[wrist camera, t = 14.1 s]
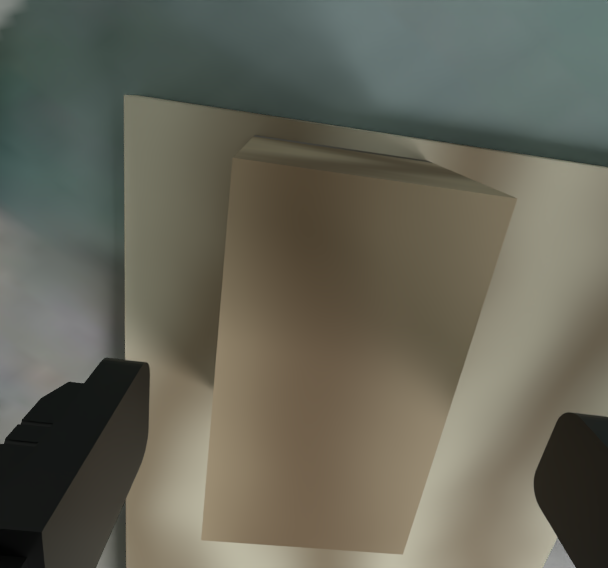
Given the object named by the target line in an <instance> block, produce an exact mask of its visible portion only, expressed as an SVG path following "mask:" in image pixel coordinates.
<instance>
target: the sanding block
mask: <svg viewBox="0 0 608 568" xmlns="http://www.w3.org/2000/svg"><path fill="white" fill-rule="evenodd" d="M516 202H517V198H515V197H512V196H510V195H508V194H505V193H503V192H501V191H498V190H496V189H494V188H491V187H489V186H486V185H484V184H482V183H479V182H477V181H475V180H472V179H470V178H467V177H465V176H463V175H460V174H458V173H456V172H453V171H451V170H449V169H446V168H444V167H441V166H439V165H437V164H434V163H432V162H430V161H427V160H420V159H414V158H407V157H400V156H393V155H387V154H380V153H373V152H366V151H360V150H353V149H346V148H339V147H333V146H326V145H319V144H312V143H306V142H299V141H292V140H285V139H279V138H272V137H265V136H258V135H254V136H253V137H252V138H251V139H250V141H249V142H248V143H247V144H246V145H245V146H244V147H243V148H242V149H241V150H240V151H239V152H238V153H237V154H236V155H235V156H234V157H233V158H232V170H231V183H230V195H229V207H228V219H227V231H226V243H225V256H224V268H223V280H222V292H221V304H220V316H219V328H218V341H217V353H216V365H215V377H214V389H213V401H212V414H211V426H210V438H209V450H208V462H207V474H206V486H205V499H204V511H203V523H202V535H201V540H203V541H217V542H232V543H246V544H260V545H274V546H288V547H302V548H316V549H330V550H344V551H358V552H373V553H387V554H401V555H403V553H404V549H405V546H406V543H407V540H408V537H409V534H410V531H411V528H412V525H413V522H414V518H415V515H416V512H417V509H418V506H419V503H420V500H421V497H422V494H423V490H424V487H425V484H426V481H427V478H428V475H429V472H430V469H431V466H432V463H433V459H434V456H435V453H436V450H437V447H438V444H439V441H440V438H441V435H442V431H443V428H444V425H445V422H446V419H447V416H448V413H449V410H450V407H451V403H452V400H453V397H454V394H455V391H456V388H457V385H458V382H459V379H460V376H461V372H462V369H463V366H464V363H465V360H466V357H467V354H468V351H469V348H470V344H471V341H472V338H473V335H474V332H475V329H476V326H477V323H478V320H479V316H480V313H481V310H482V307H483V304H484V301H485V298H486V295H487V292H488V289H489V285H490V282H491V279H492V276H493V273H494V270H495V267H496V264H497V261H498V257H499V254H500V251H501V248H502V245H503V242H504V239H505V236H506V233H507V230H508V226H509V223H510V220H511V217H512V214H513V211H514V208H515V205H516Z"/></svg>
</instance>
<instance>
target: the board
mask: <svg viewBox="0 0 608 568" xmlns="http://www.w3.org/2000/svg"><path fill="white" fill-rule="evenodd" d="M254 135H258V136H265V137H272V138H279V139H285V140H292V141H299V142H306V143H312V144H319V145H326V146H333V147H339V148H346V149H353V150H360V151H366V152H373V153H380V154H387V155H393V156H400V157H407V158H414V159H420V160H427V161H430V162H432V163H434V164H437V165H439V166H441V167H444V168H446V169H449V170H451V171H453V172H456V173H458V174H460V175H463V176H465V177H467V178H470V179H472V180H475V181H477V182H479V183H482V184H484V185H486V186H489V187H491V188H494V189H496V190H498V191H501V192H503V193H505V194H508V195H510V196H512V197H515V198H517V202H516V205H515V208H514V211H513V214H512V217H511V220H510V223H509V226H508V230H507V233H506V236H505V239H504V242H503V245H502V248H501V251H500V254H499V257H498V261H497V264H496V267H495V270H494V273H493V276H492V279H491V282H490V285H489V289H488V292H487V295H486V298H485V301H484V304H483V307H482V310H481V313H480V316H479V320H478V323H477V326H476V329H475V332H474V335H473V338H472V341H471V344H470V348H469V351H468V354H467V357H466V360H465V363H464V366H463V369H462V372H461V376H460V379H459V382H458V385H457V388H456V391H455V394H454V397H453V400H452V403H451V407H450V410H449V413H448V416H447V419H446V422H445V425H444V428H443V431H442V435H441V438H440V441H439V444H438V447H437V450H436V453H435V456H434V459H433V463H432V466H431V469H430V472H429V475H428V478H427V481H426V484H425V487H424V490H423V494H422V497H421V500H420V503H419V506H418V509H417V512H416V515H415V518H414V522H413V525H412V528H411V531H410V534H409V537H408V540H407V543H406V546H405V549H404V553H403V555H401V554H387V553H373V552H358V551H344V550H330V549H316V548H302V547H288V546H274V545H260V544H246V543H232V542H217V541H203V540H201V535H202V523H203V511H204V499H205V486H206V474H207V462H208V450H209V438H210V426H211V414H212V401H213V389H214V377H215V365H216V353H217V341H218V328H219V316H220V304H221V292H222V280H223V268H224V256H225V243H226V231H227V219H228V207H229V195H230V183H231V170H232V158H233V157H234V156H235V155H236V154H237V153H238V152H239V151H240V150H241V149H242V148H243V147H244V146H245V145H246V144H247V143H248V142H249V141H250V139H251V138H252V137H253V136H254ZM124 232H125V360H131V361H140V362H147V363H148V364H149V368H150V394H149V432H148V440H147V445H146V450H145V454H144V457H143V460H142V463H141V466H140V468H139V470H138V473H137V475H136V477H135V479H134V482H133V484H132V486H131V489H130V491H129V493H128V495H127V498H126V568H543V566H544V564H545V562H546V560H547V558H548V556H549V554H550V552H551V550H552V548H553V546H554V544H555V542H556V540H557V538H558V537H557V535H556V534H555V532H554V530H553V529H552V527H551V526H550V524H549V522H548V521H547V519H546V517H545V516H544V514H543V512H542V511H541V509H540V507H539V505H538V503H537V501H536V497H535V493H534V475H535V471H536V469H537V466H538V464H539V462H540V459H541V457H542V455H543V452H544V450H545V448H546V445H547V443H548V441H549V438H550V436H551V434H552V431H553V429H554V427H555V424H556V422H557V420H558V418H559V417H560V416H561V415H562V414H564V413H567V412H572V413H580V414H589V415H598V416H606V417H608V167H605V166H598V165H592V164H585V163H578V162H572V161H565V160H559V159H552V158H546V157H539V156H532V155H526V154H519V153H513V152H506V151H500V150H493V149H487V148H480V147H473V146H467V145H460V144H454V143H447V142H441V141H434V140H427V139H421V138H414V137H408V136H401V135H395V134H388V133H382V132H375V131H368V130H362V129H355V128H349V127H342V126H336V125H329V124H322V123H316V122H309V121H303V120H296V119H290V118H283V117H277V116H270V115H263V114H257V113H250V112H244V111H237V110H231V109H224V108H217V107H211V106H204V105H198V104H191V103H185V102H178V101H172V100H165V99H158V98H152V97H145V96H139V95H124Z"/></svg>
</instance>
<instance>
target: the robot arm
mask: <svg viewBox="0 0 608 568" xmlns="http://www.w3.org/2000/svg"><path fill="white" fill-rule="evenodd" d="M149 394H150V368H149V364H148V363H147V362H140V361H131V360H122V359H114V358H104V359H103V360H102V361H101V362H100V364H99V365H98V366H97V367H96V369H95V370H94V371H93V373H92V374H91V375H90V377H89V378H88V379H87V380H86V382H85V383H75V382H68V383H66V384H64V385H63V386H61V387H59V388H58V389H56V390H54V391H53V392H51V393H49V394H47V395H46V396H44V397H42V398H41V399H40V400H39V401H38V402H37V403H36V405H35V406H34V407H33V408H32V409H31V410H30V411H29V412H28V414H27V415H26V416H25V417H24V418H23V419H22V423H21V425H19V424H18V425H17V426H16V427H15V428H14V429H13V431H12V432H11V433H10V434H9V435H8V436H7V437H6V439H5V442H4V444H0V568H96V566H97V564H98V561H99V559H100V557H101V555H102V552H103V550H104V548H105V546H106V543H107V541H108V539H109V536H110V534H111V532H112V530H113V527H114V525H115V523H116V520H117V518H118V516H119V514H120V511H121V509H122V507H123V504H124V502H125V500H126V498H127V495H128V493H129V491H130V489H131V486H132V484H133V482H134V479H135V477H136V475H137V473H138V470H139V468H140V466H141V463H142V460H143V457H144V454H145V450H146V445H147V440H148V432H149ZM534 493H535V497H536V501H537V503H538V505H539V507H540V509H541V511H542V512H543V514H544V516H545V517H546V519H547V521H548V522H549V524H550V526H551V527H552V529H553V530H554V532H555V534H556V535H557V537H558V539H559V540H560V542H561V544H562V545H563V547H564V549H565V550H566V552H567V554H568V555H569V557H570V559H571V560H572V562H573V564H574V565H575V567H576V568H608V417H606V416H598V415H589V414H580V413H572V412H567V413H564V414H562V415H561V416H560V417H559V418H558V420H557V422H556V424H555V427H554V429H553V431H552V434H551V436H550V438H549V441H548V443H547V445H546V448H545V450H544V452H543V455H542V457H541V459H540V462H539V464H538V466H537V469H536V471H535V475H534Z"/></svg>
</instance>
